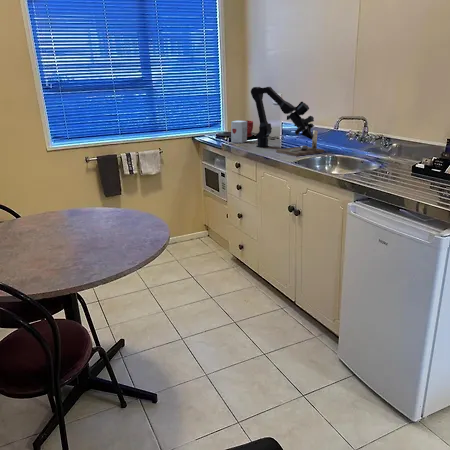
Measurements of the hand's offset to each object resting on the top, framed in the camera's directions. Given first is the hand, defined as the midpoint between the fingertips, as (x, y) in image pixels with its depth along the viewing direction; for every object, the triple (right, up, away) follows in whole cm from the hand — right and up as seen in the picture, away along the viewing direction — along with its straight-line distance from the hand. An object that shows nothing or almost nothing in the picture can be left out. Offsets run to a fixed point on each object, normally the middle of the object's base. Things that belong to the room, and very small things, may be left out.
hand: (312, 139), depth 269 cm
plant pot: (-40, +16, +70) cm, 82 cm away
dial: (-6, -7, -3) cm, 10 cm away
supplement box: (-45, +6, +43) cm, 63 cm away
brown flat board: (-8, -8, -1) cm, 12 cm away
